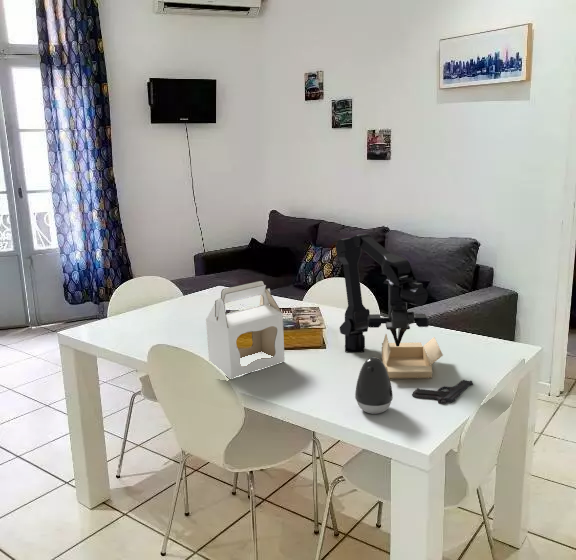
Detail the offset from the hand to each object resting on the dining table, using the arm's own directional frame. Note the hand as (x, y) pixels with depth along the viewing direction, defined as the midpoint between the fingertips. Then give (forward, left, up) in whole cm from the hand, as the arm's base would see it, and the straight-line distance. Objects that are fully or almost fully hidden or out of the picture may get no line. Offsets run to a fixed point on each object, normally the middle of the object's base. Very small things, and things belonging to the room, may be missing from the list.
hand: (397, 346), depth 198 cm
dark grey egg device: (-9, -31, -8) cm, 33 cm away
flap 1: (-4, 0, -3) cm, 5 cm away
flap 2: (+9, 0, -3) cm, 10 cm away
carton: (+3, 0, -7) cm, 8 cm away
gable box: (-49, +3, -8) cm, 50 cm away
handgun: (+12, -18, -8) cm, 23 cm away
